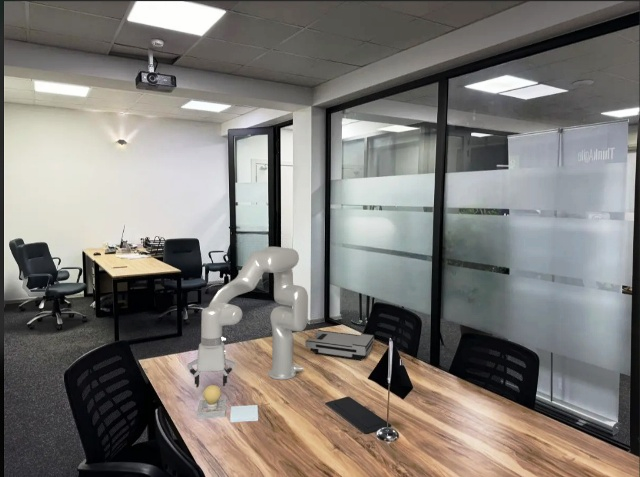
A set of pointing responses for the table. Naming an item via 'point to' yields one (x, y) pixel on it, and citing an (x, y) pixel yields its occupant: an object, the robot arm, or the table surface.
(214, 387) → the light bulb
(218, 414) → the frame
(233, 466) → the table surface
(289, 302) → the robot arm
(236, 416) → the pad
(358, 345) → the game console
